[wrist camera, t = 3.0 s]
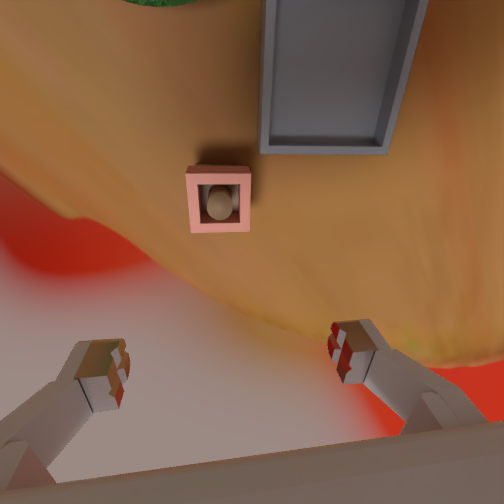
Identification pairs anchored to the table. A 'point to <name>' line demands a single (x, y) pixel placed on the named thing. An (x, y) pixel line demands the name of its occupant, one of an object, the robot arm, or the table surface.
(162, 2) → the decorative tree
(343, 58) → the tray
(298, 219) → the table surface
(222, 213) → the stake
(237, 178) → the ring
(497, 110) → the table surface
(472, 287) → the table surface
